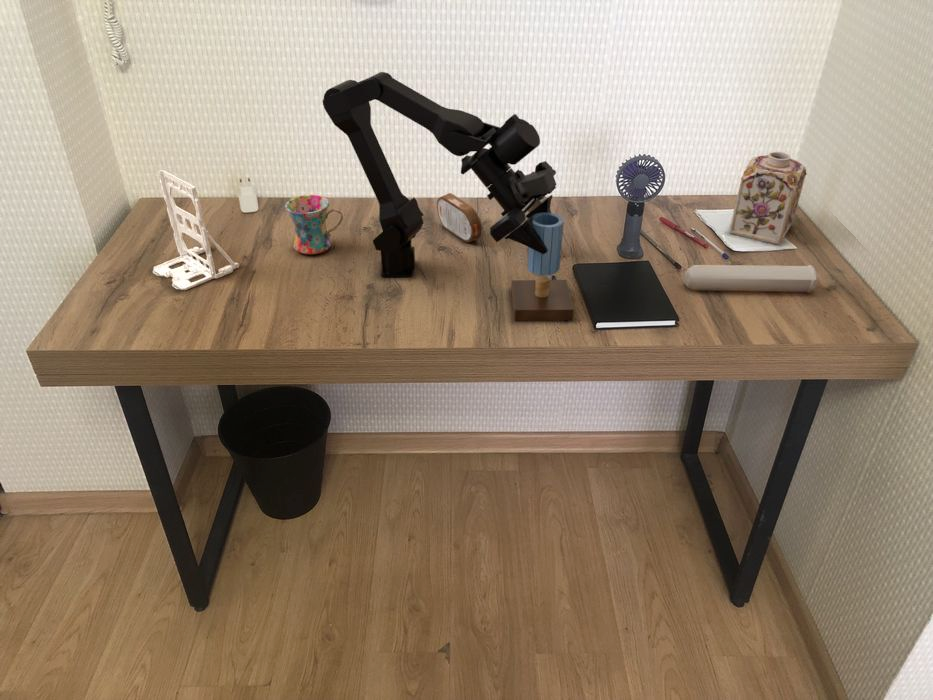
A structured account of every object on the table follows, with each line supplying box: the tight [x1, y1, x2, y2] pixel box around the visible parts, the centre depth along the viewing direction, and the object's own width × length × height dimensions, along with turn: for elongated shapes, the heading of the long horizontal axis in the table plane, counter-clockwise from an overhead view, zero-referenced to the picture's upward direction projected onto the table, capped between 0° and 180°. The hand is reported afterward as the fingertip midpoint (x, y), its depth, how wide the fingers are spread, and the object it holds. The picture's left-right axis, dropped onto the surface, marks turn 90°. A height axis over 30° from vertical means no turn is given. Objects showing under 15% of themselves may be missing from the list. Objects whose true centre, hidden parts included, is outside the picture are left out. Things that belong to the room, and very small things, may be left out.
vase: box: [526, 212, 565, 277], centre depth 135 cm, size 6×6×10 cm
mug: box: [284, 194, 344, 255], centre depth 159 cm, size 12×9×11 cm
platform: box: [510, 275, 575, 322], centre depth 141 cm, size 11×11×6 cm
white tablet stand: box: [152, 169, 240, 291], centre depth 148 cm, size 14×14×20 cm
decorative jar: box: [729, 151, 808, 245], centre depth 163 cm, size 12×12×18 cm
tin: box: [436, 192, 483, 243], centre depth 165 cm, size 15×3×8 cm, turn 34°
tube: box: [684, 264, 817, 294], centre depth 146 cm, size 5×5×25 cm
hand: (551, 245), depth 134 cm, fingers closed on vase, 6 cm apart
